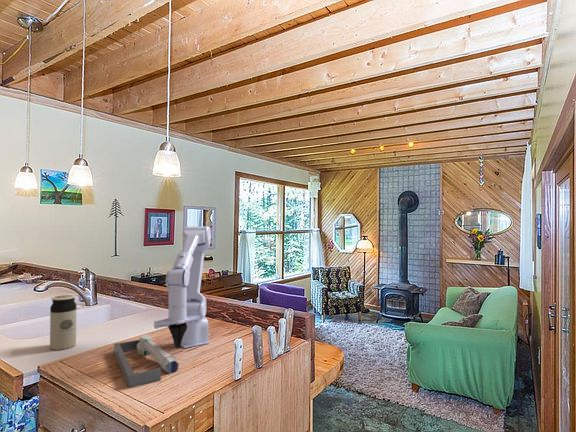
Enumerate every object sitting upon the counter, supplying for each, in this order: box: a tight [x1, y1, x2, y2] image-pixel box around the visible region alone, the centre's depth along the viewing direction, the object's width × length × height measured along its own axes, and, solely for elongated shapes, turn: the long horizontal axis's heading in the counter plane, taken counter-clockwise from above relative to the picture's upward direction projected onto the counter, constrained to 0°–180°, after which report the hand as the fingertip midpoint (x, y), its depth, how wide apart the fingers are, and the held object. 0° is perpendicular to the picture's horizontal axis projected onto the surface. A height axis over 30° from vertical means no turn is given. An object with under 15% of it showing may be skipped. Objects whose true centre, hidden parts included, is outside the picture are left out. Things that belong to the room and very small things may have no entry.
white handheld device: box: [137, 334, 180, 375], centre depth 116 cm, size 5×7×25 cm
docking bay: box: [113, 339, 162, 389], centre depth 112 cm, size 8×31×3 cm, turn 33°
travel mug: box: [49, 294, 77, 351], centre depth 129 cm, size 8×8×18 cm
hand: (177, 346), depth 117 cm, fingers closed
